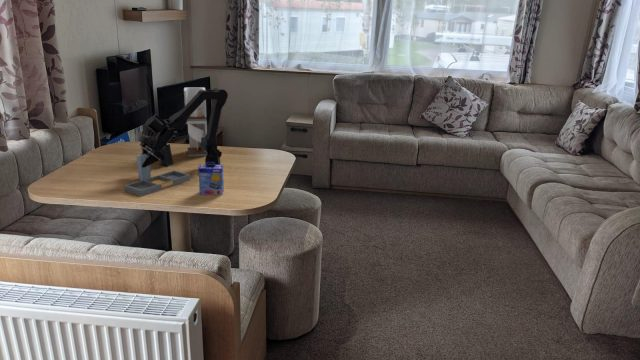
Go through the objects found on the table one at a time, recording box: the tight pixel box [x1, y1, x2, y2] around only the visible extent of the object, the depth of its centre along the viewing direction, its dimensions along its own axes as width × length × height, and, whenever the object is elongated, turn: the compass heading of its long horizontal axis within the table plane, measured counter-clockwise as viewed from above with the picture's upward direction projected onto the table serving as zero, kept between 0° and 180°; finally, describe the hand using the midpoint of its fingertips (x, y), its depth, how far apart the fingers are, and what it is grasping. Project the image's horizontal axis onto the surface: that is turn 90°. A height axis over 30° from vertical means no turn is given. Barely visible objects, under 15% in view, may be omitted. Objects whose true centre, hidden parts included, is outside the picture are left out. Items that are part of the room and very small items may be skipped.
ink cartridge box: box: [198, 162, 225, 196], centre depth 210 cm, size 10×6×14 cm, turn 95°
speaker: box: [159, 143, 174, 168], centre depth 248 cm, size 8×6×10 cm
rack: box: [124, 170, 191, 197], centre depth 219 cm, size 27×11×2 cm, turn 148°
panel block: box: [136, 153, 152, 181], centre depth 225 cm, size 4×5×11 cm
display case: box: [183, 87, 208, 157], centre depth 264 cm, size 11×11×35 cm
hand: (140, 165), depth 224 cm, fingers closed on panel block, 5 cm apart
